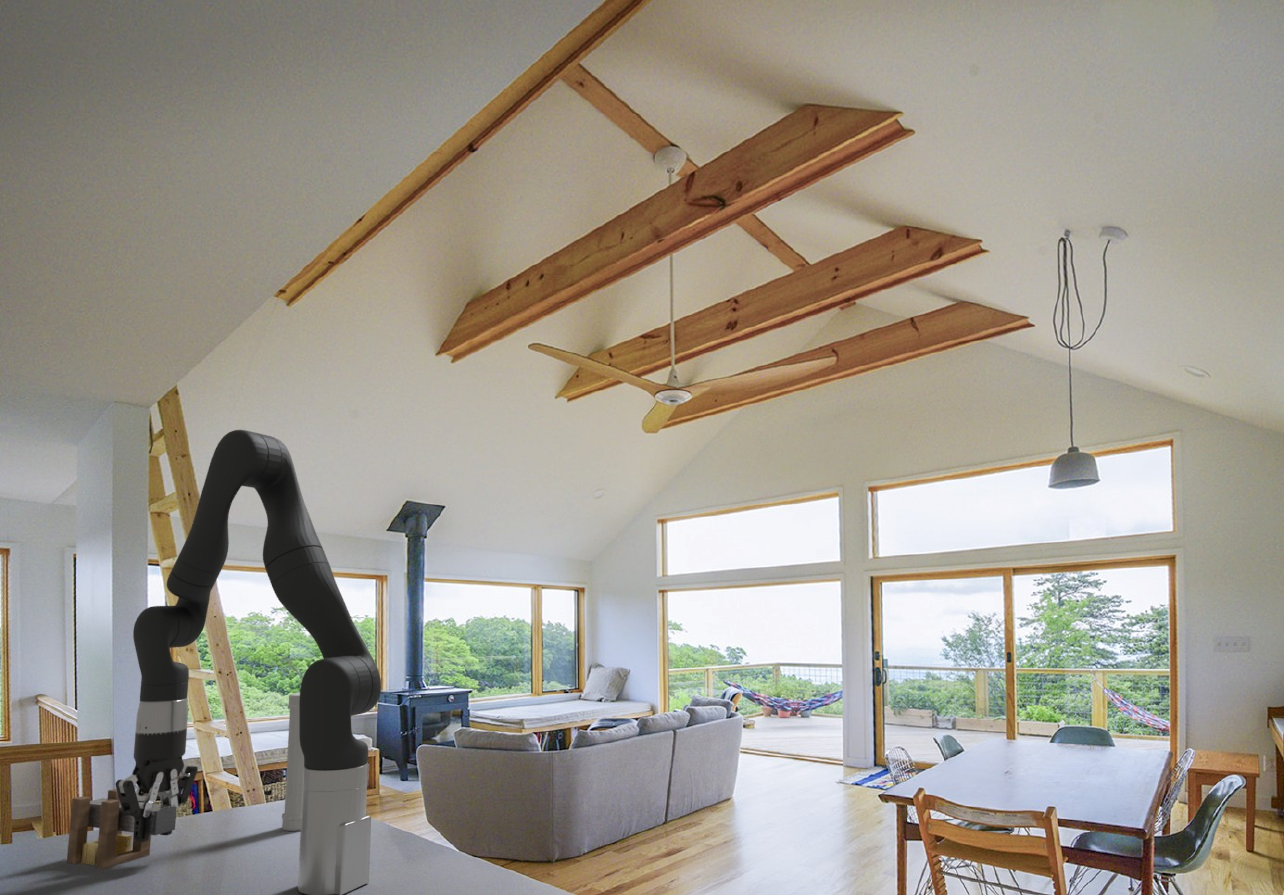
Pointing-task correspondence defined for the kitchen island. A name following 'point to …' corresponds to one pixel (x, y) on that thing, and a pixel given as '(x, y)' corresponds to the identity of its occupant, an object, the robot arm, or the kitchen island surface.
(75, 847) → the brown wooden frame
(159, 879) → the kitchen island surface
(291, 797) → the pipe
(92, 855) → the spacer
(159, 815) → the shaft
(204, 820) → the kitchen island surface
